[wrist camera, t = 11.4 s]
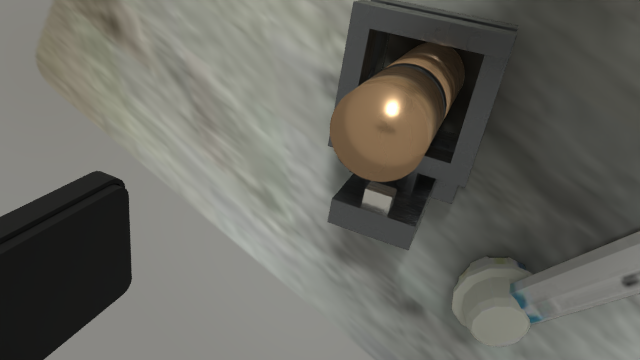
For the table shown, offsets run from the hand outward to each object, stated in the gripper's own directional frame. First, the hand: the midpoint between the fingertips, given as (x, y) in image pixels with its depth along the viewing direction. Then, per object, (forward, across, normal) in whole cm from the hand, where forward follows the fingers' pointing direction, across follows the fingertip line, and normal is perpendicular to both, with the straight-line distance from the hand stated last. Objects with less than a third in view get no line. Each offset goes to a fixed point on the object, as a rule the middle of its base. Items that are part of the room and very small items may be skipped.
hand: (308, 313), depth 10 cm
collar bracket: (+26, +2, +3) cm, 26 cm away
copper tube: (+26, +2, +1) cm, 26 cm away
